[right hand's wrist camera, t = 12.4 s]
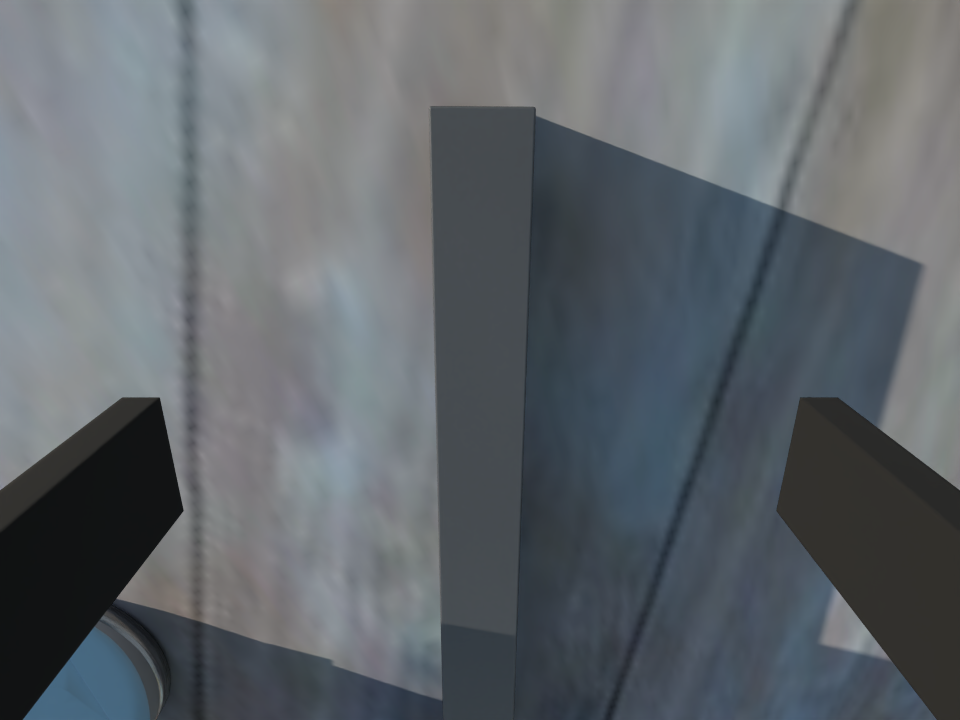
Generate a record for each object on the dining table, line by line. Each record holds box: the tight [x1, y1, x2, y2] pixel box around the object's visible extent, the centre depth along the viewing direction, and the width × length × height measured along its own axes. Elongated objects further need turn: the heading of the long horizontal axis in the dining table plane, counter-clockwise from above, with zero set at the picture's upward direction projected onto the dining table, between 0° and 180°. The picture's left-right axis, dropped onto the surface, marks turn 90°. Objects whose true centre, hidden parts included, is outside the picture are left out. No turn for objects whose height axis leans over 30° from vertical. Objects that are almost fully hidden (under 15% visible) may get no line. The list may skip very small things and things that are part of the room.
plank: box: [429, 106, 536, 720], centre depth 38 cm, size 54×4×7 cm, turn 0°
